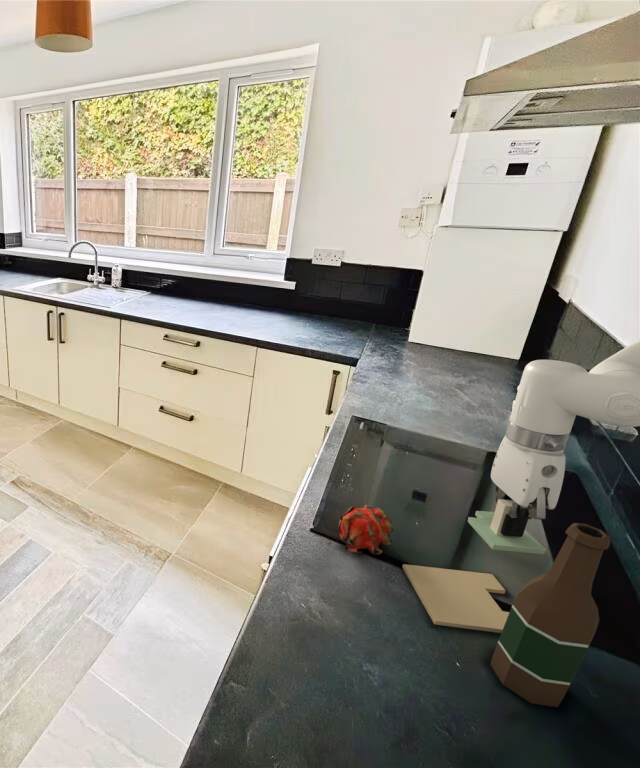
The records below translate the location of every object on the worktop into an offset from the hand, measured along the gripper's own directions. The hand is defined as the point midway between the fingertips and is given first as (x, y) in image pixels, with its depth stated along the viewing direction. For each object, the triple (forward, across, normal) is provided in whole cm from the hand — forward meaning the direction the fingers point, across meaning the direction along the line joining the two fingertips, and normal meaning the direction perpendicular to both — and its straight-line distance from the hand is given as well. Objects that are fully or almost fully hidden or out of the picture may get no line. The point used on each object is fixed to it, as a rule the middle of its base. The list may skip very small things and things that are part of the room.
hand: (506, 529), depth 80 cm
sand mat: (+6, -13, +12) cm, 18 cm away
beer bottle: (+6, -26, +11) cm, 29 cm away
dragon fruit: (+5, -2, +24) cm, 25 cm away
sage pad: (+2, +1, 0) cm, 2 cm away
